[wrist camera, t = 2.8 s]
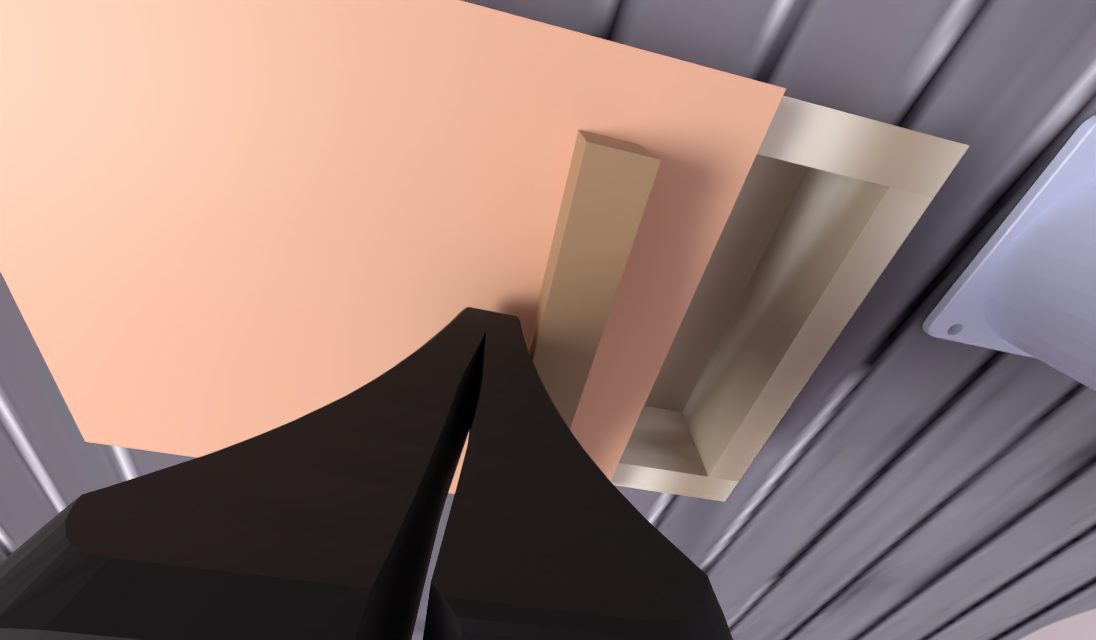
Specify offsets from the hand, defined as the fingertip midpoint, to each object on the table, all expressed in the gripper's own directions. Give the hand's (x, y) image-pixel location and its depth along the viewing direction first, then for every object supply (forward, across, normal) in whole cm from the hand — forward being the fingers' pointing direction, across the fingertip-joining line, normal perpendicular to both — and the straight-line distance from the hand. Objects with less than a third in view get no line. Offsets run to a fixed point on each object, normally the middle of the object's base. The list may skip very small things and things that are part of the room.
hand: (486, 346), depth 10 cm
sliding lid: (+2, +3, 0) cm, 4 cm away
